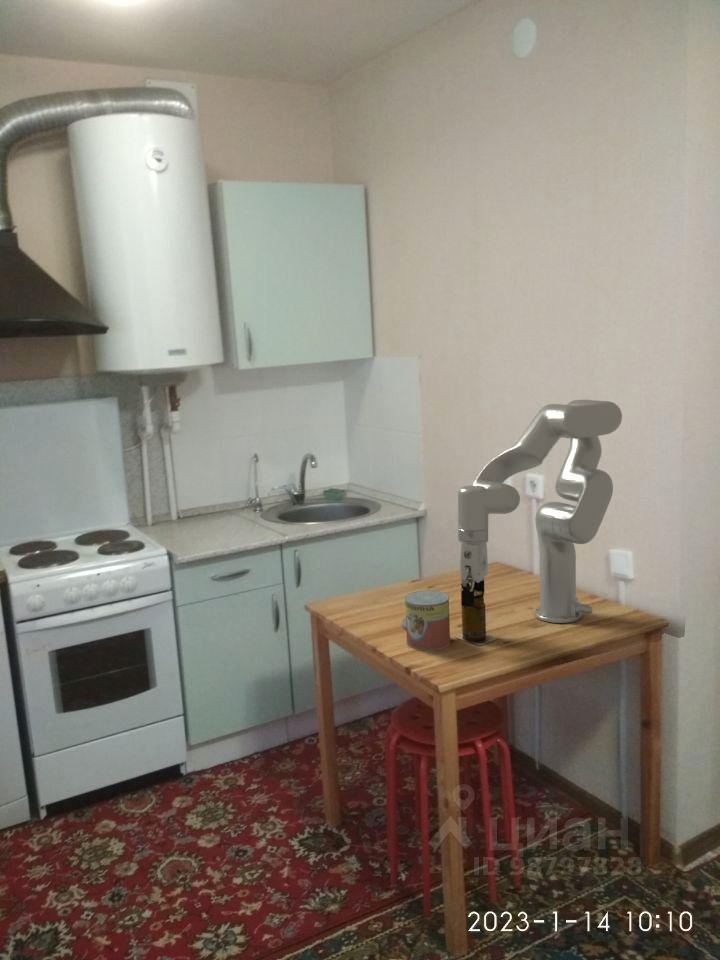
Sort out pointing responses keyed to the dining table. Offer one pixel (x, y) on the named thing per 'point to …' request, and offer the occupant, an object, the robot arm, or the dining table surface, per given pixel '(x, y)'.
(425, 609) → the canned food
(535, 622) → the dining table surface
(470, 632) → the condiment
